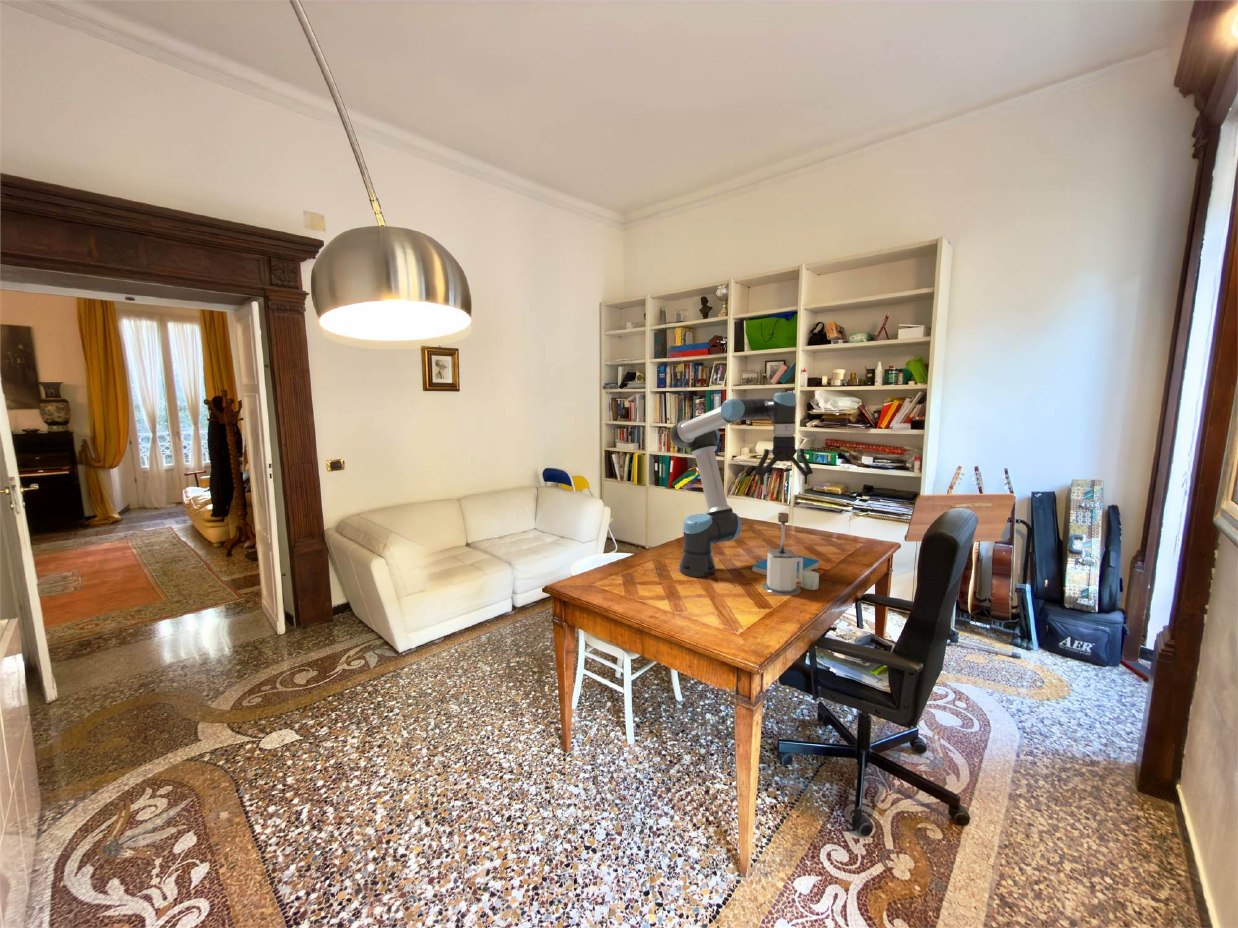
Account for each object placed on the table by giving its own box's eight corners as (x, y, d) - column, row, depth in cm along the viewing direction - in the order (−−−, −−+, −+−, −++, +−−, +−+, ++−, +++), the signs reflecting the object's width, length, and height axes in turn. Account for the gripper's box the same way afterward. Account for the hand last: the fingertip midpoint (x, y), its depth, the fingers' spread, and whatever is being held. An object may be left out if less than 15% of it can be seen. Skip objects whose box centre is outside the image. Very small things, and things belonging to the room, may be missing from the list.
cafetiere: (763, 582, 187) (764, 548, 185) (796, 582, 186) (798, 547, 184) (771, 593, 176) (772, 557, 174) (806, 593, 176) (807, 556, 174)
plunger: (775, 553, 181) (777, 512, 179) (785, 553, 181) (787, 512, 179) (778, 556, 178) (780, 514, 176) (788, 556, 178) (790, 514, 175)
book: (819, 560, 203) (790, 574, 186) (819, 570, 203) (789, 585, 186) (782, 551, 215) (751, 563, 198) (781, 560, 216) (751, 573, 199)
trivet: (757, 582, 189) (757, 580, 188) (793, 582, 188) (794, 580, 188) (767, 597, 175) (767, 595, 175) (806, 597, 174) (806, 595, 174)
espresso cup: (799, 585, 185) (799, 570, 184) (814, 585, 185) (815, 570, 184) (805, 593, 178) (806, 578, 177) (822, 593, 177) (822, 578, 177)
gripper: (751, 436, 170) (750, 495, 173) (823, 435, 169) (821, 494, 172) (746, 435, 178) (746, 491, 180) (815, 434, 176) (814, 491, 179)
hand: (782, 493), depth 176 cm, fingers open, 13 cm apart
